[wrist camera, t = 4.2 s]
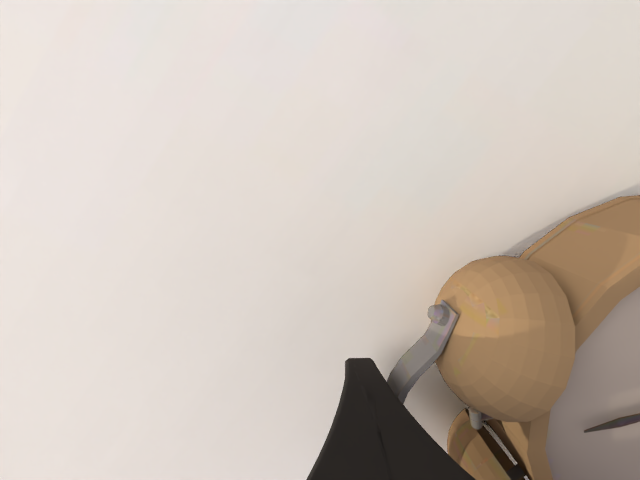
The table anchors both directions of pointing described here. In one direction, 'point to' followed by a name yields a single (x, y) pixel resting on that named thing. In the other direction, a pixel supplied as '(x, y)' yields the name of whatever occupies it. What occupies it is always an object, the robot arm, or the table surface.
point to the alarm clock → (544, 353)
